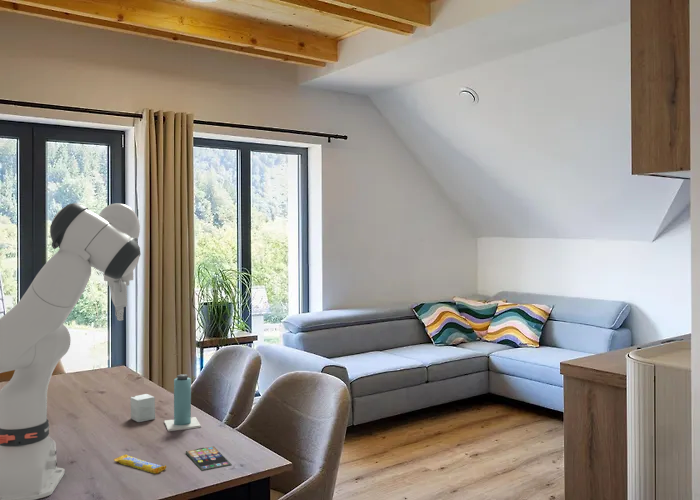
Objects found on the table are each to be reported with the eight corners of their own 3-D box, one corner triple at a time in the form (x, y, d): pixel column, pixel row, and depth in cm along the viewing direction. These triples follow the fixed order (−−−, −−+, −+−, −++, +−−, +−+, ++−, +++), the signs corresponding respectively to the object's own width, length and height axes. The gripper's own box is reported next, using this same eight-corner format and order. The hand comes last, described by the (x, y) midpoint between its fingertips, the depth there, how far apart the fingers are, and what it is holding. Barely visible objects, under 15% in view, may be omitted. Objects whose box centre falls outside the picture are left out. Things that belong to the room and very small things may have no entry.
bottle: (191, 424, 203) (191, 376, 202) (174, 425, 201) (174, 377, 201) (189, 419, 208) (189, 373, 207) (173, 421, 206) (173, 374, 205)
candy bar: (168, 471, 166) (168, 464, 166) (155, 476, 163) (155, 469, 163) (126, 459, 175) (126, 452, 175) (113, 464, 172) (113, 457, 172)
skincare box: (155, 419, 211) (155, 396, 211) (137, 422, 207) (137, 400, 207) (147, 415, 215) (147, 393, 215) (130, 418, 211) (129, 396, 211)
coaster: (200, 427, 202) (200, 425, 202) (168, 431, 198) (168, 429, 198) (195, 418, 211) (195, 416, 211) (164, 422, 207) (164, 420, 207)
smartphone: (201, 472, 165) (201, 468, 165) (185, 454, 178) (185, 450, 178) (231, 466, 169) (231, 462, 169) (213, 449, 182) (213, 445, 182)
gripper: (131, 276, 195) (132, 322, 195) (127, 272, 214) (127, 313, 214) (109, 277, 192) (109, 323, 193) (106, 273, 211) (107, 315, 212)
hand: (119, 318), depth 204 cm, fingers open, 8 cm apart
